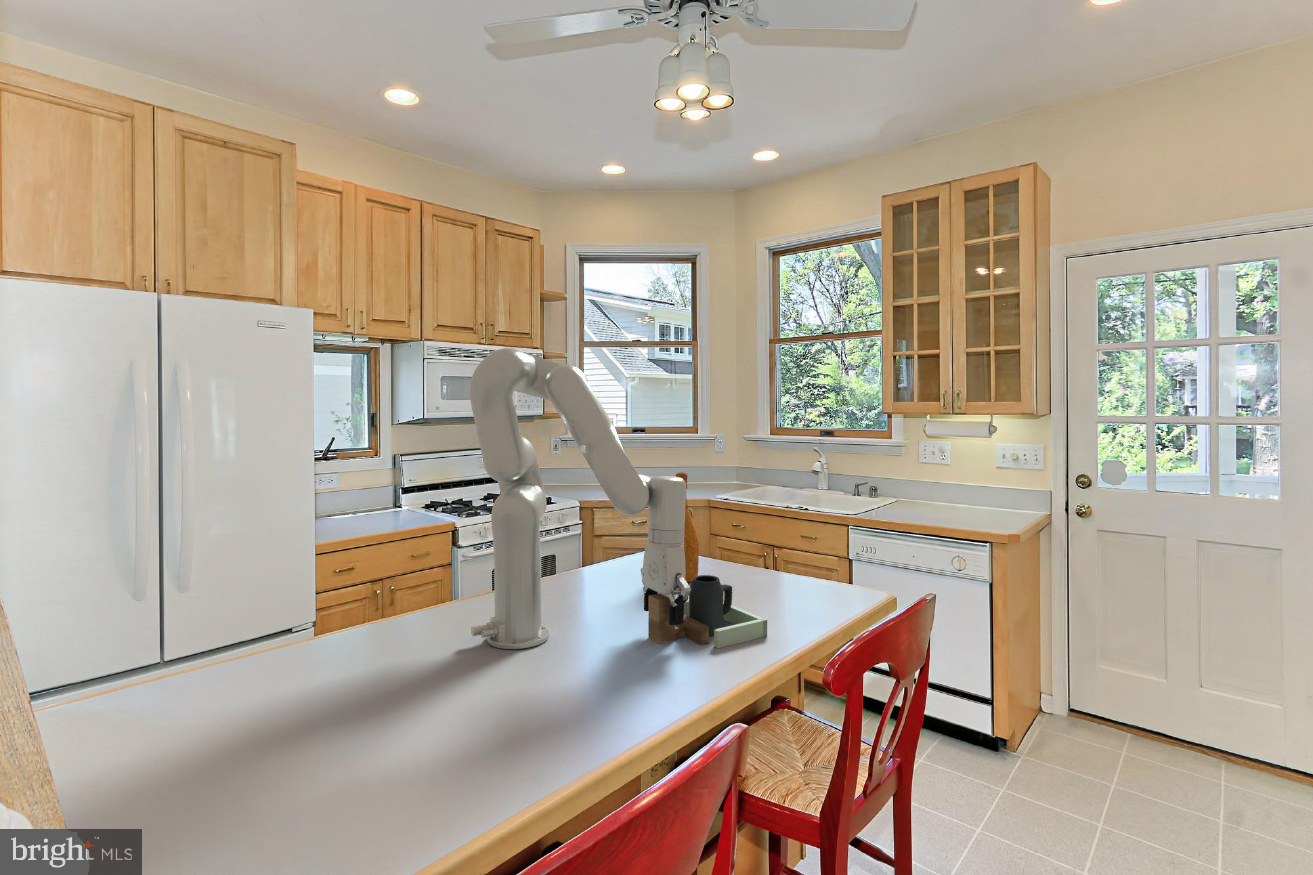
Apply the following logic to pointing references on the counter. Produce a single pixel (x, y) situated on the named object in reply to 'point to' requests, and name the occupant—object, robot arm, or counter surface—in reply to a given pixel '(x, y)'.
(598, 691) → the counter surface
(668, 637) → the wooden cross block
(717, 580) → the mug
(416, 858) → the counter surface
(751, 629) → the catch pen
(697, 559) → the wine bottle
